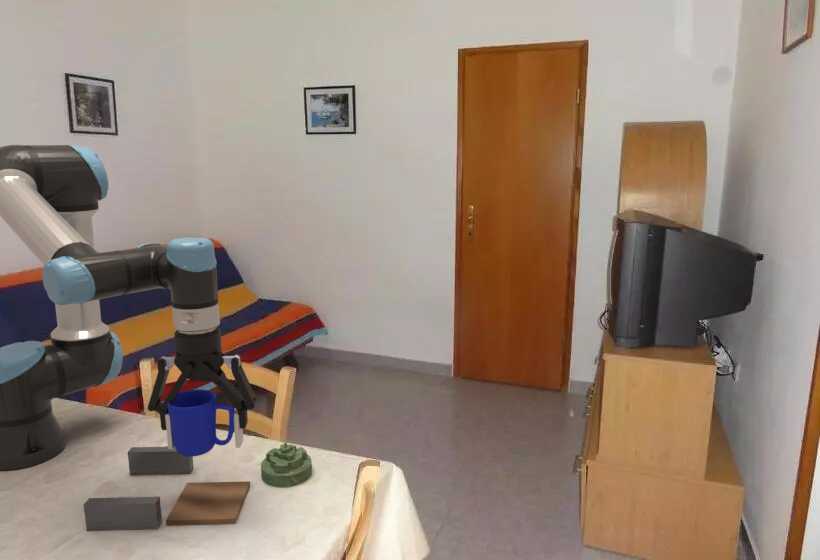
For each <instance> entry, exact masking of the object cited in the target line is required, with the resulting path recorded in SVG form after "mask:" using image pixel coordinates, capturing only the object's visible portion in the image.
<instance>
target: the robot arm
mask: <svg viewBox="0 0 820 560" xmlns="http://www.w3.org/2000/svg"><path fill="white" fill-rule="evenodd" d="M108 191H109V178H108V174H107V171H106V167H105V164H103V161H102V159H101V158H100V157H99V155H98V154H97V153H96V152H95V151H94V150H93V149H92V148H89V147H87V146H84V145H83V146H82V145H72V144H52V145H51V144H50V145H49V144H47V145H46V144H43V145H42V144H39V145H37V144H31V145H27V144H25V145H24V144H23V145H22V144H9V145H4V146H1V147H0V217H1V219H2V220H3V221H4V222H5V223H6V224H7V226H8V227H9V228H10V229H11V230H12V232H14V233H15V234H16V236H17V237H18V238H19V239H20V240H21V241H22V242H23V244H24V245H25V246H26V247H27V249H29V250H30V252H31V253H32V254H33V255H34V257H36V258H37V259H38V260H39V262H41V264H42V265H43V268H42V277H41V278H42V284H43V287H44V290H45V291H46V294H47V297H48V299H50V301H51V302H53V304H54V305H55V314H56V315H55V316H56V324H57V326H56V327H55V328H54V329H53V330H52V331H51V332H50V341H51V342H50V344H47V345H44V344H43V342H41V341H38V340H26V341H23V342H22V341H19V342H14V343H11V344H7V345H4V346H1V347H0V471H10V470H19V469H24V468H28V467H33V466H36V465H39V464H41V463H43V462H47V461H49V460H50V459H53V458H54V457H56V456H57V455H59V454H60V453H61V452H63V451H64V449H65V448H66V446H67V442H66V434H65V432H64V430H63V429H62V427H61V425H60V423H59V421H58V420H57V418H56V416H55V415H54V412H53V406H52V400H53V399H56V398H60V397H64V396H66V395H70V394H74V393H76V392H81V391H83V390H87V389H92V388H97V387H99V386H102V385H103V384H107V383H109V382H111V381H113V380H114V379H116V377H117V376H118V375H119V374H120V371H121V369H122V366H123V358H124V355H123V348H122V347H123V346H122V345H120V344H121V341H120V339H119V336H118V335H117V334H116V333H114V332H113V331H110V327H109V325H107V324H105V323H104V322H102V316H101V305H100V304H101V303H100V300H103V299H107V298H113V297H116V296H117V297H118V296H121V295H129V294H134V293H138V292H140V293H141V292H145V291H150V290H154V289H155V290H156V289H163V290H166V291H167V290H168V291H170V297H171V299H170V300H171V308H172V309H171V310H172V321H173V322H172V323H173V328H174V329H175V332H174V333H173V334H174V344H175V345H174V346H175V354H176V355H175V356H169V355H167V354H164V355H162V356H161V357H160V358H159V359H158V360H157V363H156V364H157V374H156V379H155V382H154V384H153V388H152V391H151V395H150V397H149V398H150V399H149V402H148V405H147V410H148V411H149V412H157V413H158V414H159V419H160V428H161V430H162V431H166V439H167V446H168V449H173V448H174V447H175V444H174V438H173V433H172V427H171V422H170V416H169V411H168V405H167V403H170V404H172V402H173V401H174V400H175V398H176V397H177V395H178V393H180V392H181V390H182V388H184V385H185V384H186V383H187V381H188V380H189V381H190V382H197V381H202V382H209V381H211V382H212V383H213V384H214V385H215V386H217V387H218V388H219V390H220V391H221V392H222V393H223V395H224V396H225V397H226V399H228V401H229V402H230V403H231V405H233V406H234V407H235V413H234V441H235V443H234V444H235V448H236V449H239V448H240V449H241V446H242V444H243V443H244V431H243V429H246V427H247V425H248V423H249V421H248V418H249V417H248V410H254V408H255V406H256V405H257V403H258V399H257V396H256V394H255V392H254V390H253V388H252V385H251V383H250V381H249V379H248V377H247V375H246V372H245V371H244V368H243V365H242V356H241V354H239V353H236V354H235V355H225V354H224V353H223V350H222V349H223V348H222V333H221V328H220V327H219V325H220V324H221V320H220V319H221V318H220V307H219V293H218V276H217V275H218V274H217V273H218V269H217V263H218V262H217V259H216V254H215V245H214V243H213V241H212V240H211V239H209V238H206V237H180V238H176V239H175V238H174V239H172V240H170V241H169V242H168V243H167V245H165V244H161V243H143V244H139V245H137V246H135V247H134V248H127V249H121V250H111V251H104V252H99V251H97V250H96V249H95V248H96V247H95V239H94V230H93V227H94V226H93V216H94V215H95V214H96V213H97V212H98V211H99V210H100V209H99V207H100V206H99V201H102V200H103V199H106V197H107V195H108ZM224 364H225V365H227V368H228V369H230V371H231V373H232V376H233V378H234V380H235V383H236V384H237V386H238V389H239V391H240V392H239V391H238V390H237V389H236V387H235V386H234V385H233V383H232V382H231V381H230V380H229V379H228V377H227V375H226V373H225V371H224V370H223V369H222V366H223V365H224ZM174 365H175V367H176V368H177V369H178V370H179V371H180V372H181V374H180V375H179V376H178V378H177V380H176V381H175V383H174V385H173V386H172V388H171V389H170V391H169V392H168V394H167V396H166V397H165V399H164V401H163V402H162V401H161V400H162V397H163V393H164V390H165V386H166V383H167V380H168V376H169V373H170V370H171V369H172V368H173V367H174Z"/></svg>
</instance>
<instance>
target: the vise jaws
mask: <svg viewBox="0 0 820 560" xmlns="http://www.w3.org/2000/svg"><path fill="white" fill-rule="evenodd" d="M193 458H194V456H192V457H189V456H183V455H181V454H179V453H178V452H177V450H176V448H175V446H174V448H173V449H168V445H167V446H137V447H136V446H132V447H130V449H129V450H127V459H128V461H127V462H128V467H129V468H128V469H129V470H128V471H129V475H130V476H134V475H135V476H139V475H141V476H144V475H147V476H148V475H187V474H188V475H189V474H192V472H193V470H194V459H193ZM83 511H84V519H85V527H86V532H92V531H94V532H98V531H100V532H101V531H103V532H104V531H138V530H141V531H142V530H159V528H160V526H161V525H162V523H163V520H162V519H163V518H162V506H161V498H160V496H131V497H129V496H127V497H126V496H125V497H124V496H123V497H119V496H118V497H89V498H88V499H87V500H86V501H85V502H84V504H83Z"/></svg>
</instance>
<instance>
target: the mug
mask: <svg viewBox="0 0 820 560" xmlns="http://www.w3.org/2000/svg"><path fill="white" fill-rule="evenodd" d="M167 405H168V411H169V416H170V422H171V427H172V433H173V438H174V444H175V446H174V447H175V448H176V450H177V452H178V453H179V454H181V455H183V456H189V457H192V456H193V457H198V456H202V455H205V454H207V453H208V452H211V451H212V450H213V448H214V447H215V445H218V446H225V445H227V444H229V443H230V441H231V440H232V438H233V435H234V432H235V430H234V413H235V410H236V408H235V407H234V406H233V405H232V404H229V403H219V402H218V403H217V394H216V393H215V392H214V391H212V390H208V389H199V388H198V389H189V390H185V391H180V392H179V393H178V395H177V397H176V398H175V400H174V401H173V402H172V404H170V403H167ZM217 410H225V411H228V433H227V436H226V439H223V440H222V439H219V438H218V437H217Z"/></svg>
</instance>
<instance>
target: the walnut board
mask: <svg viewBox="0 0 820 560" xmlns="http://www.w3.org/2000/svg"><path fill="white" fill-rule="evenodd" d="M250 487H251V481H248V480H247V481H205V482H204V481H201V482H197V481H196V482H186V484H185V486H184V488H183V490H182V491H181V492H180V495H178V496H179V497H178V498H177V500H176V501H175V503H174V505H173V507H172V509H171V510H170V512H169V514H168V515H167V517H166V519H165V526H197V525H199V526H201V525H204V526H206V525H237V524H236V523H237V521H238V519H239V516H240V513H241V511H242V508H243V506H244V503H245V501H246V498H247V495H248V493H249V490H250Z"/></svg>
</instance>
